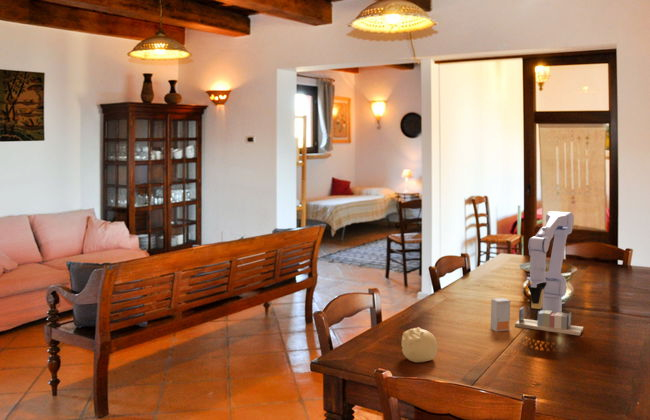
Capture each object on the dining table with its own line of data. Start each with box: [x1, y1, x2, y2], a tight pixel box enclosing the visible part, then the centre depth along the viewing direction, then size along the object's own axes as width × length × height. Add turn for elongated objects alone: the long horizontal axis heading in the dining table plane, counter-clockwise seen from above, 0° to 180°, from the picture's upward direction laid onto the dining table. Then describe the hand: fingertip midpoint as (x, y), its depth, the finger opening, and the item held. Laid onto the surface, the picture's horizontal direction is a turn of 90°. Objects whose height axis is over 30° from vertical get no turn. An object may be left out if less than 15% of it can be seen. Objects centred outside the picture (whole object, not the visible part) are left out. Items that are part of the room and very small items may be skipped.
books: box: [536, 309, 569, 329], centre depth 245 cm, size 5×11×5 cm, turn 60°
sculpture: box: [400, 326, 438, 363], centre depth 213 cm, size 12×12×11 cm
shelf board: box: [514, 318, 584, 336], centre depth 246 cm, size 8×24×1 cm, turn 59°
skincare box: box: [490, 297, 511, 332], centre depth 244 cm, size 6×4×12 cm
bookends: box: [518, 306, 572, 330], centre depth 247 cm, size 5×18×5 cm, turn 59°
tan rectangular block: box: [530, 289, 544, 310], centre depth 246 cm, size 4×4×7 cm
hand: (536, 301), depth 246 cm, fingers closed on tan rectangular block, 4 cm apart
